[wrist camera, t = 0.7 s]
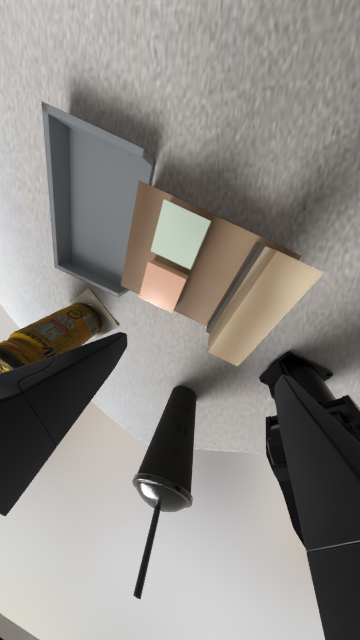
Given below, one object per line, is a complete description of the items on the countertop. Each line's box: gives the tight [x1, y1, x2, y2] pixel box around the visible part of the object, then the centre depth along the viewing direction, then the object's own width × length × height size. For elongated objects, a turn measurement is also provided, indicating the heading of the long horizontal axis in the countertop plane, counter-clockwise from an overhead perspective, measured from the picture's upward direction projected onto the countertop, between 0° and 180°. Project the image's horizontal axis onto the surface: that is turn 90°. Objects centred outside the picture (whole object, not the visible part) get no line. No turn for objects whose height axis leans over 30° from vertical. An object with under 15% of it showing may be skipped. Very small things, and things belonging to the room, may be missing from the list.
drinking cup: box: [133, 386, 196, 599], centre depth 22 cm, size 8×8×20 cm
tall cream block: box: [206, 243, 324, 366], centre depth 14 cm, size 3×9×5 cm, turn 158°
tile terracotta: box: [139, 259, 189, 313], centre depth 16 cm, size 4×4×2 cm
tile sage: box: [151, 199, 212, 270], centre depth 14 cm, size 4×4×2 cm
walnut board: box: [121, 180, 301, 326], centre depth 17 cm, size 15×10×3 cm, turn 68°
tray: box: [42, 102, 155, 297], centre depth 17 cm, size 9×14×2 cm, turn 158°
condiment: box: [0, 288, 119, 373], centre depth 21 cm, size 7×8×12 cm
